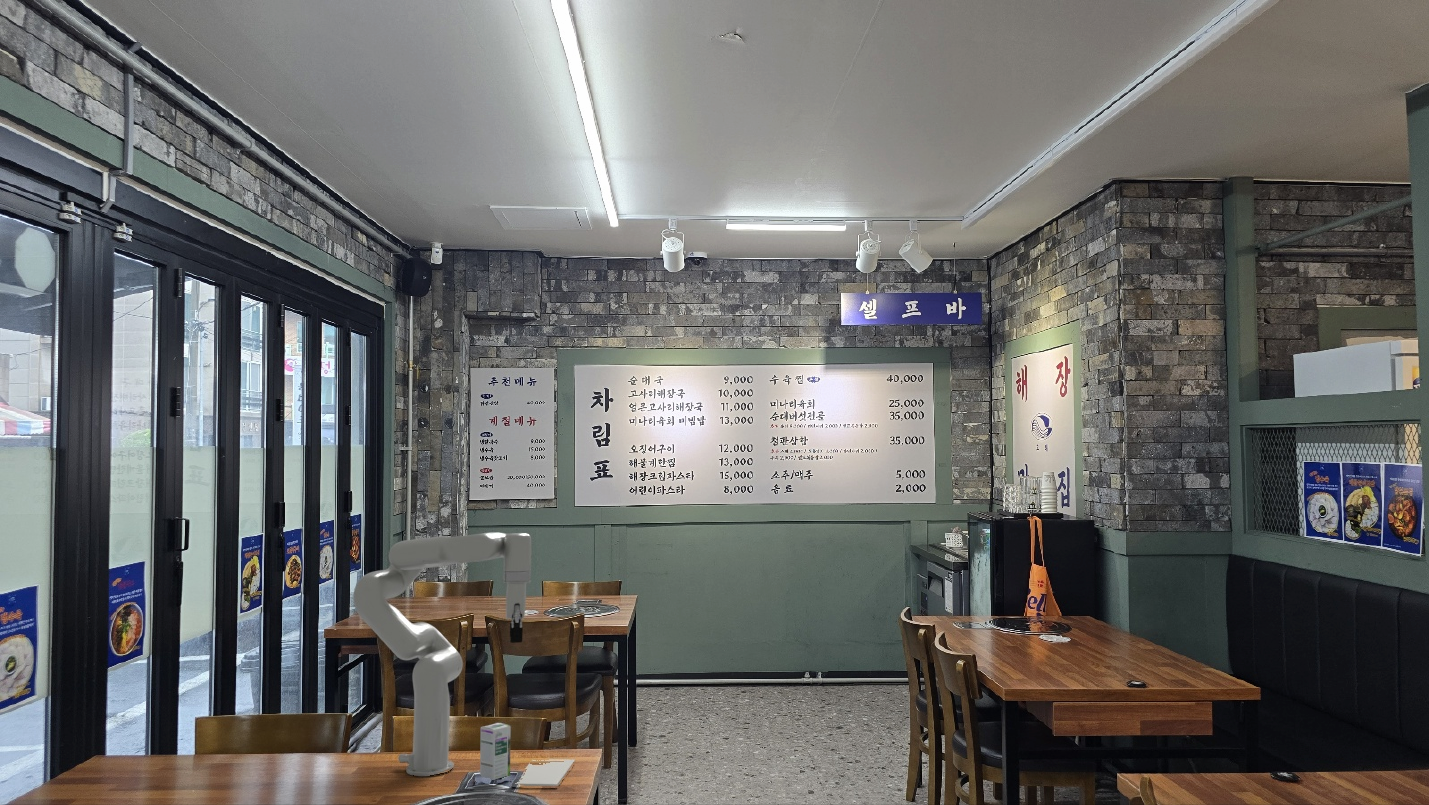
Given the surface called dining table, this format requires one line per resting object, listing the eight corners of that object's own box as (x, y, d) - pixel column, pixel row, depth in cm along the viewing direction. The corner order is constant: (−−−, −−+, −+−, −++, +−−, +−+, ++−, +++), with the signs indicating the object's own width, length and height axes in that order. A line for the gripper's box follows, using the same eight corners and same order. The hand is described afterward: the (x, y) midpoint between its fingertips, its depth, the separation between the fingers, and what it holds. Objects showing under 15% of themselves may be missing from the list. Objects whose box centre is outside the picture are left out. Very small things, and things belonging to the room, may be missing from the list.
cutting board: (511, 788, 230) (511, 783, 230) (533, 763, 252) (533, 758, 252) (557, 789, 229) (557, 784, 229) (575, 764, 251) (575, 759, 251)
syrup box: (493, 786, 231) (494, 729, 233) (478, 782, 235) (480, 726, 236) (510, 781, 236) (511, 725, 237) (496, 777, 239) (497, 721, 241)
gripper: (503, 575, 256) (501, 635, 254) (503, 580, 239) (502, 645, 237) (529, 574, 258) (528, 634, 256) (532, 579, 241) (530, 644, 239)
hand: (515, 639), depth 247 cm, fingers open, 9 cm apart
